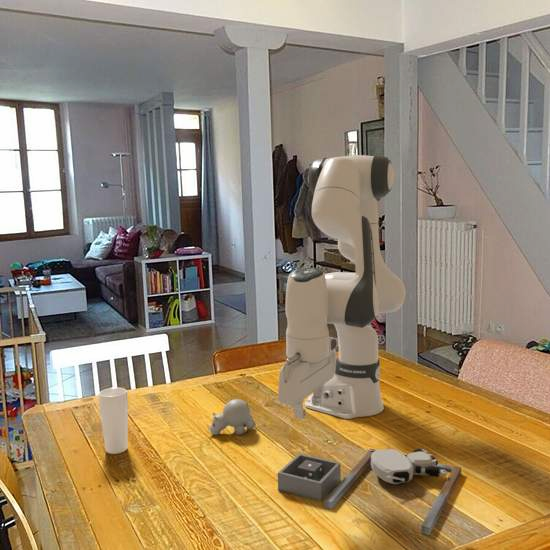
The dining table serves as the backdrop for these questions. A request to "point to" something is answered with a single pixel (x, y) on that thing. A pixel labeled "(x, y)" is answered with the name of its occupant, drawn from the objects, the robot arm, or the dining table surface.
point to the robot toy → (404, 465)
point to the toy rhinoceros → (233, 418)
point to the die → (310, 470)
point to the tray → (309, 487)
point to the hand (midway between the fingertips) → (308, 411)
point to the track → (434, 510)
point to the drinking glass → (114, 419)
